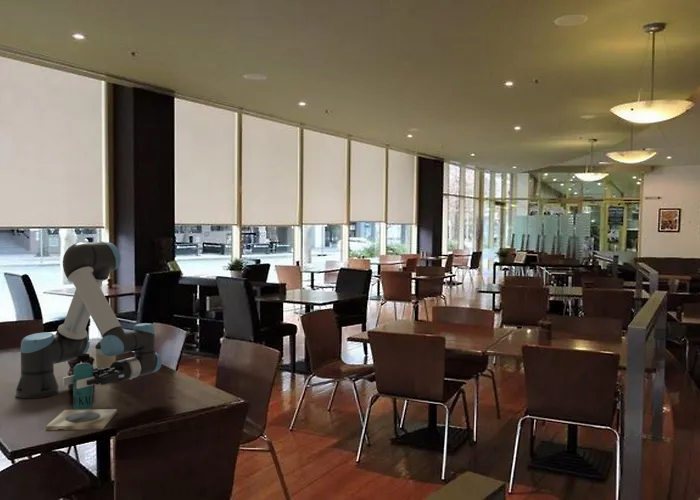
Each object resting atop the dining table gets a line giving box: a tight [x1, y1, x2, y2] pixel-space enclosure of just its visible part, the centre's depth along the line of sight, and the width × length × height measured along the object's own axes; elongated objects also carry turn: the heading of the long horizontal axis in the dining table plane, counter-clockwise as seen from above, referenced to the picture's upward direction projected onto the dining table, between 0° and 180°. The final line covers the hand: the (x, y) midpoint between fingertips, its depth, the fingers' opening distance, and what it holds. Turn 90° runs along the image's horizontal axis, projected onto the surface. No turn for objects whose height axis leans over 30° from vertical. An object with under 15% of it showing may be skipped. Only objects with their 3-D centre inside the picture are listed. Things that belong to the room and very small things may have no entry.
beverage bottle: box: [72, 353, 94, 410], centre depth 212 cm, size 6×7×20 cm
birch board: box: [45, 408, 118, 431], centre depth 212 cm, size 18×18×1 cm
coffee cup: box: [94, 341, 117, 369], centre depth 275 cm, size 9×9×15 cm
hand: (70, 383), depth 207 cm, fingers closed on beverage bottle, 6 cm apart
